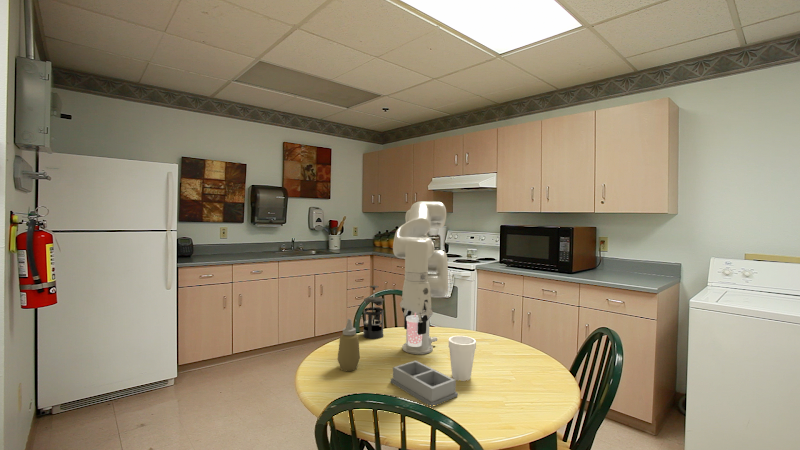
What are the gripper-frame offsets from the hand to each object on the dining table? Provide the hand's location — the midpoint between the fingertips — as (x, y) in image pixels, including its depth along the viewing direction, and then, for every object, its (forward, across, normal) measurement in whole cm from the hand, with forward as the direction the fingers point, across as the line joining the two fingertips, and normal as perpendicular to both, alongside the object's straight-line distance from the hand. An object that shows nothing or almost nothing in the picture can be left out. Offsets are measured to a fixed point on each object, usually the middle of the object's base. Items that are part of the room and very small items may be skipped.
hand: (415, 330), depth 125 cm
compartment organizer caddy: (+18, -4, 0) cm, 19 cm away
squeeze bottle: (+18, +24, +11) cm, 32 cm away
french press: (+18, +49, -17) cm, 55 cm away
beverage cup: (+5, 0, 0) cm, 5 cm away
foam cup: (+18, -5, -17) cm, 26 cm away
